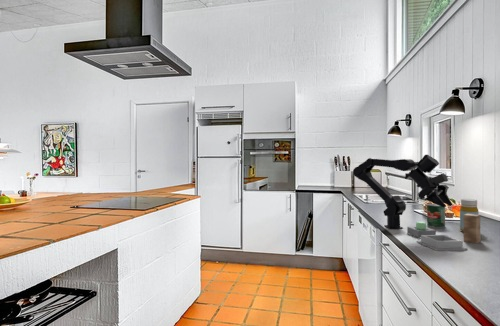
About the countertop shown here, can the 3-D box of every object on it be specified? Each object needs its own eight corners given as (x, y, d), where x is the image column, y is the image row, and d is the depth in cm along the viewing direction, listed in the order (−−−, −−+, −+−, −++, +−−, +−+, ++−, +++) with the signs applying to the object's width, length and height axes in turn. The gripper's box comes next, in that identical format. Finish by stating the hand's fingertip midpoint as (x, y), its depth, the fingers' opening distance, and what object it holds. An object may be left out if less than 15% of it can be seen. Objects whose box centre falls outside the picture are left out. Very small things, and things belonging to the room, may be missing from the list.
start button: (414, 231, 138) (414, 221, 138) (422, 231, 138) (422, 221, 138) (419, 234, 134) (419, 223, 134) (428, 233, 134) (428, 223, 134)
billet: (463, 241, 125) (463, 214, 125) (467, 239, 128) (467, 213, 128) (476, 243, 121) (476, 216, 121) (480, 241, 124) (480, 215, 124)
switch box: (407, 233, 139) (407, 226, 139) (424, 232, 140) (424, 226, 140) (418, 237, 131) (418, 230, 131) (435, 237, 132) (435, 230, 132)
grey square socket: (416, 242, 124) (416, 234, 124) (444, 241, 125) (444, 234, 125) (436, 250, 112) (436, 242, 112) (467, 249, 113) (467, 241, 113)
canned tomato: (445, 225, 155) (445, 204, 155) (445, 228, 148) (445, 206, 148) (427, 223, 159) (427, 203, 159) (426, 226, 153) (426, 205, 153)
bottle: (481, 233, 137) (481, 200, 137) (464, 233, 139) (464, 200, 138) (473, 230, 144) (473, 198, 144) (457, 229, 145) (457, 198, 145)
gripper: (425, 168, 130) (454, 195, 121) (443, 167, 141) (471, 192, 132) (407, 185, 136) (433, 212, 128) (426, 183, 148) (451, 208, 139)
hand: (448, 206), depth 131 cm, fingers open, 6 cm apart
